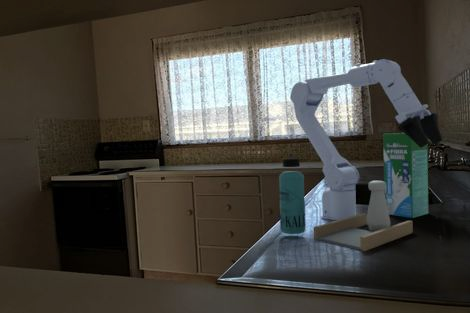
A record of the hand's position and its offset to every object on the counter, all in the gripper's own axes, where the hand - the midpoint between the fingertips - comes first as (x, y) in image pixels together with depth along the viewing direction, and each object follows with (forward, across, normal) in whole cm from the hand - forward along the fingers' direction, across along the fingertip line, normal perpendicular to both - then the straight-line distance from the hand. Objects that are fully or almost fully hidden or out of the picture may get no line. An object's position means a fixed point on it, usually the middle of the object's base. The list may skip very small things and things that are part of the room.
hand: (431, 144), depth 94 cm
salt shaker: (+14, -10, +19) cm, 26 cm away
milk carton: (+13, +14, +24) cm, 31 cm away
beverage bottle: (+7, -29, +29) cm, 42 cm away
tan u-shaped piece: (+14, -16, +19) cm, 29 cm away
